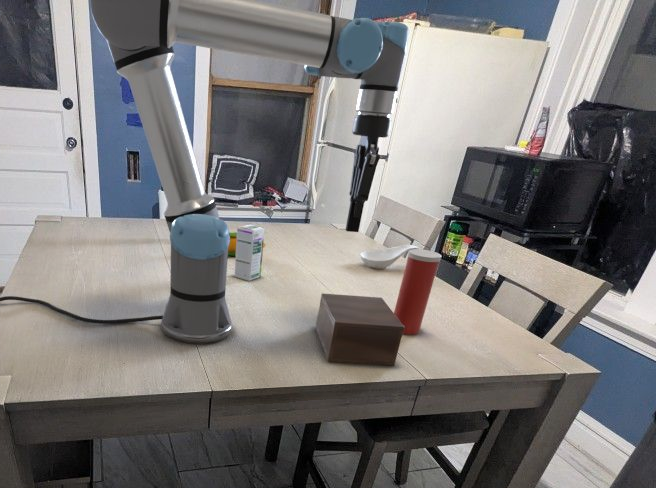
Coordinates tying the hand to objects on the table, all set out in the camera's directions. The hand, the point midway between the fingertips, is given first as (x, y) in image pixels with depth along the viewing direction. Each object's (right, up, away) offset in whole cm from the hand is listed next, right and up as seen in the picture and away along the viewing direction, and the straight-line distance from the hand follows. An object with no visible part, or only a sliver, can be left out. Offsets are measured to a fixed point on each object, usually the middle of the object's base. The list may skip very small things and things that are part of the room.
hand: (351, 230), depth 112 cm
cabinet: (-2, -27, -7) cm, 28 cm away
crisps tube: (+14, -22, +4) cm, 26 cm away
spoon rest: (+27, +4, +53) cm, 59 cm away
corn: (-26, +7, +52) cm, 59 cm away
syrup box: (-23, -4, +31) cm, 39 cm away
